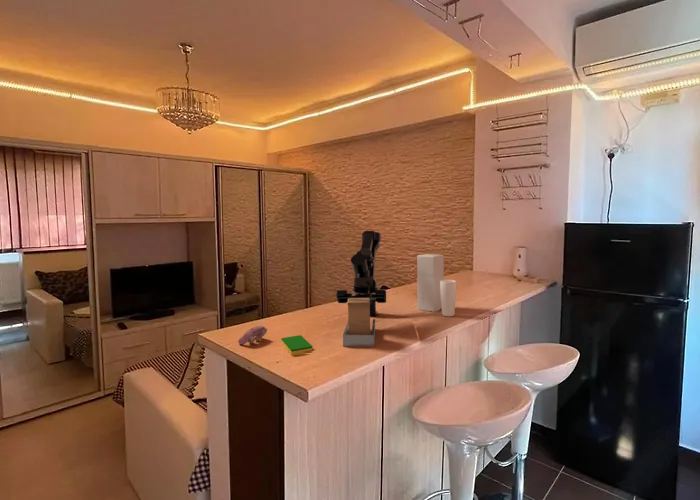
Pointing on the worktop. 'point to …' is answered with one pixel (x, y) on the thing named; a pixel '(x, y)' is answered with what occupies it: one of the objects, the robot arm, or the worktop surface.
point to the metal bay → (358, 338)
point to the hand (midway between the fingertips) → (361, 315)
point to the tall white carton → (429, 281)
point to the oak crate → (359, 315)
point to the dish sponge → (296, 345)
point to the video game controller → (253, 335)
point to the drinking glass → (448, 297)
